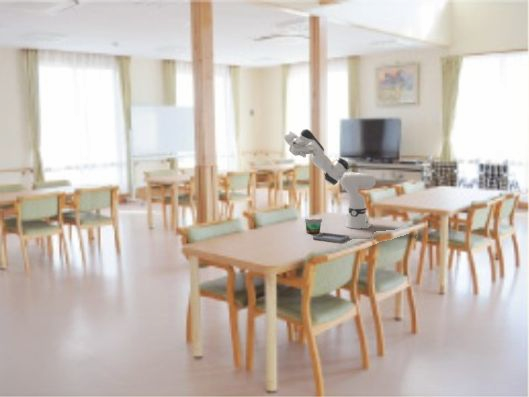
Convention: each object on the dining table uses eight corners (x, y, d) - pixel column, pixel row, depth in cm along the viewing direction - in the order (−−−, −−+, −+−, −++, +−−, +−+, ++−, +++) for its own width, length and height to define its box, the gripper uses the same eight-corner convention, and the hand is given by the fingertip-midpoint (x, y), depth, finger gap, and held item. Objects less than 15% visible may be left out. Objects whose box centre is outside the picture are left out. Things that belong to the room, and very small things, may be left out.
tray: (322, 235, 363) (322, 232, 362) (349, 238, 353) (349, 235, 353) (313, 239, 350) (313, 236, 350) (340, 242, 340) (340, 239, 340)
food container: (307, 234, 364) (307, 220, 363) (304, 233, 370) (304, 218, 368) (324, 233, 367) (324, 219, 366) (321, 232, 373) (321, 218, 372)
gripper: (309, 148, 395) (320, 158, 386) (287, 151, 383) (297, 161, 375) (311, 141, 391) (322, 150, 382) (289, 143, 380) (300, 153, 371)
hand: (310, 155), depth 378 cm, fingers open, 8 cm apart
